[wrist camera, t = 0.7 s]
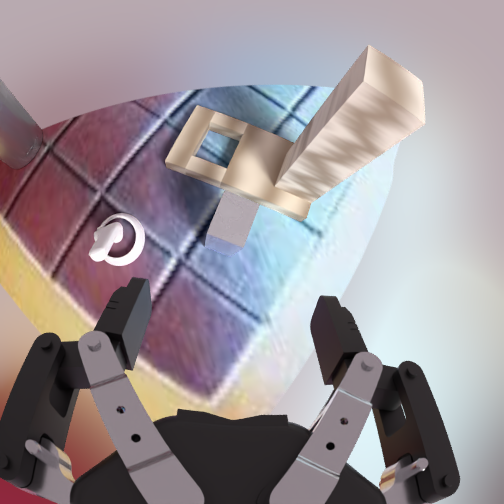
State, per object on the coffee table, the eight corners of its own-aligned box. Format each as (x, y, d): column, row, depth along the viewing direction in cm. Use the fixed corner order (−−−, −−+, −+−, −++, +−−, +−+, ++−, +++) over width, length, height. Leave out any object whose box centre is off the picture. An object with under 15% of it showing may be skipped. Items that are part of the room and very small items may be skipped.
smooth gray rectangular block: (204, 247, 38) (206, 233, 27) (217, 215, 39) (224, 190, 28) (230, 257, 39) (243, 247, 28) (242, 225, 40) (259, 204, 29)
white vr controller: (98, 307, 30) (64, 266, 26) (114, 257, 40) (91, 222, 36) (145, 286, 30) (112, 238, 26) (153, 238, 40) (131, 199, 36)
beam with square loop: (166, 167, 38) (140, 26, 12) (196, 113, 40) (209, -25, 14) (300, 221, 41) (425, 147, 16) (318, 163, 43) (420, 68, 17)
